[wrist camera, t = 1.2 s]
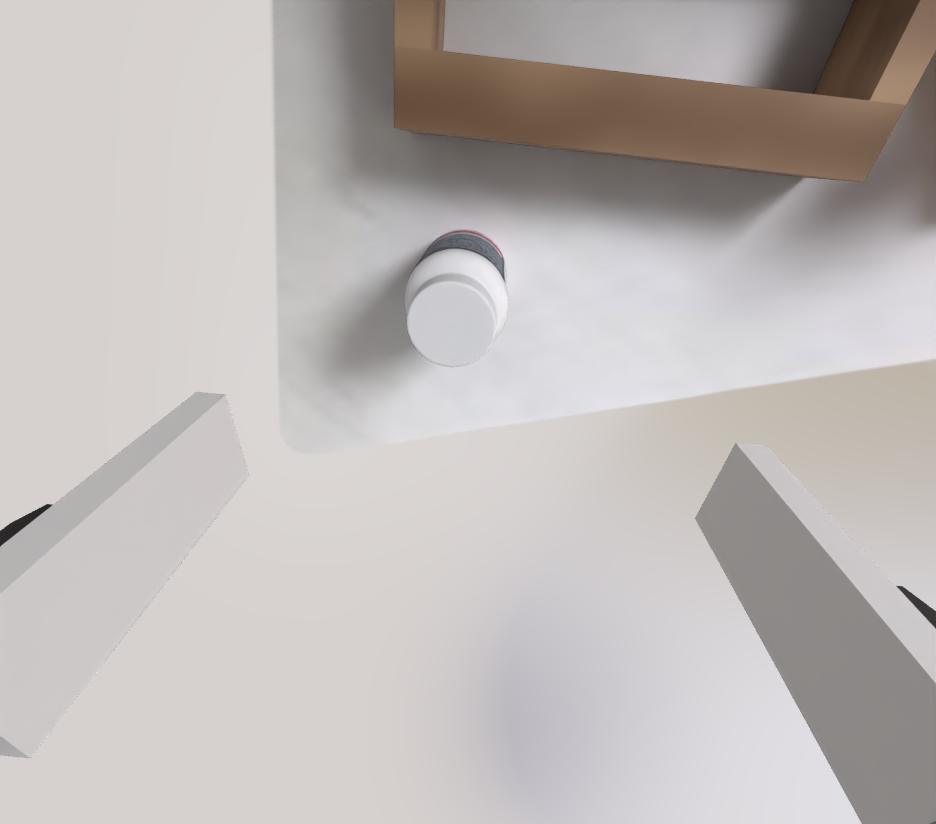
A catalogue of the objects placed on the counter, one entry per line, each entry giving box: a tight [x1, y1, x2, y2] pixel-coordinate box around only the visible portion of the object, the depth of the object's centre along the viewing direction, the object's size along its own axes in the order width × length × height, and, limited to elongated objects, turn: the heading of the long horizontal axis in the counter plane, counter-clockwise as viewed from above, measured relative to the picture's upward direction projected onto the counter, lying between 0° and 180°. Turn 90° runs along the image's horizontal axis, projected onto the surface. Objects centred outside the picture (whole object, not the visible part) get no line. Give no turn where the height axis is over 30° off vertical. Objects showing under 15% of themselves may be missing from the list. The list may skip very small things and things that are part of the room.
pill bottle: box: [404, 230, 509, 367], centre depth 21 cm, size 5×5×9 cm
